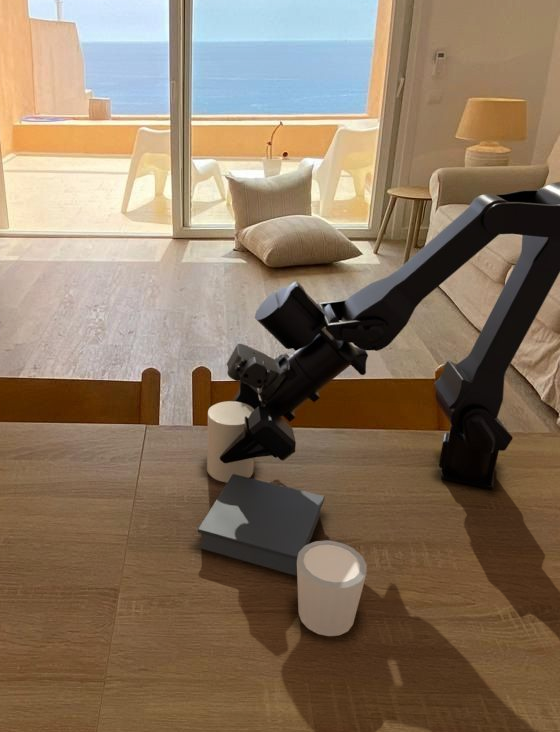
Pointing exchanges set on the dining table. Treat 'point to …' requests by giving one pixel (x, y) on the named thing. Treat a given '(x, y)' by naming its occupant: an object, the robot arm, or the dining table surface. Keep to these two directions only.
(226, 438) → the cream pillar candle
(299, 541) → the storage box
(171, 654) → the dining table surface
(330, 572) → the shot glass
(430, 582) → the dining table surface
